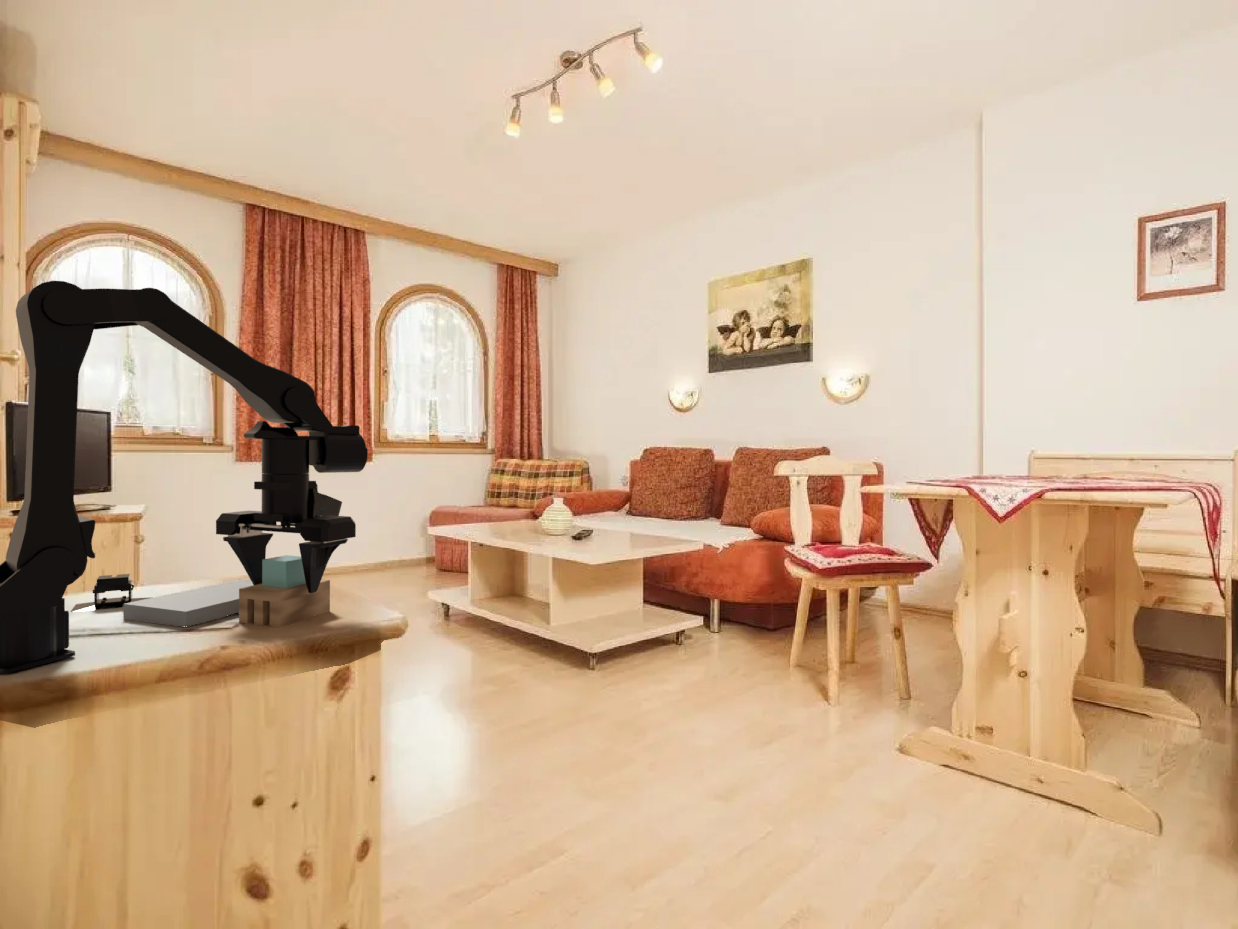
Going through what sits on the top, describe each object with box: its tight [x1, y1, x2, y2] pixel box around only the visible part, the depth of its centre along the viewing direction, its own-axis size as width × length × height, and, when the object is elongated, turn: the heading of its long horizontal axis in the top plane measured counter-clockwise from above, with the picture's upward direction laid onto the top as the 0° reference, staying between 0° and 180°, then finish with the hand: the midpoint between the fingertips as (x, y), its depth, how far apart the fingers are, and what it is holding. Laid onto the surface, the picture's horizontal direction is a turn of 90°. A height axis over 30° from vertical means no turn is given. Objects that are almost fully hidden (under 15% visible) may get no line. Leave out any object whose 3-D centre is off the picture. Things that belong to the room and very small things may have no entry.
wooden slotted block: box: [238, 578, 331, 628], centre depth 91 cm, size 9×6×4 cm
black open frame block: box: [70, 573, 153, 613], centre depth 97 cm, size 12×7×5 cm, turn 122°
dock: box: [122, 578, 253, 628], centre depth 96 cm, size 18×11×2 cm, turn 161°
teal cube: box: [262, 554, 306, 588], centre depth 91 cm, size 4×4×4 cm
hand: (285, 589), depth 91 cm, fingers open, 9 cm apart
